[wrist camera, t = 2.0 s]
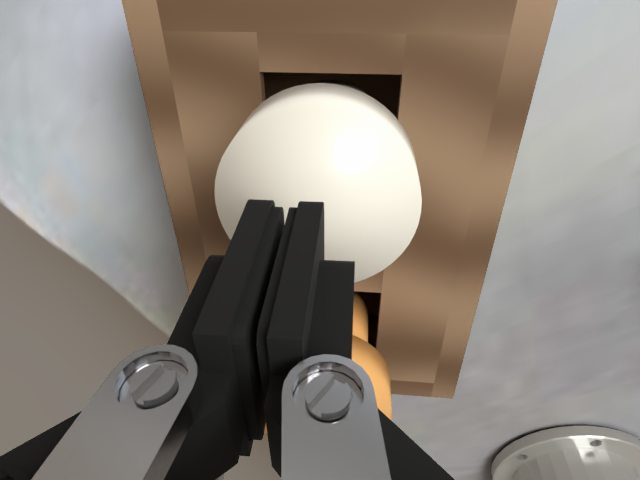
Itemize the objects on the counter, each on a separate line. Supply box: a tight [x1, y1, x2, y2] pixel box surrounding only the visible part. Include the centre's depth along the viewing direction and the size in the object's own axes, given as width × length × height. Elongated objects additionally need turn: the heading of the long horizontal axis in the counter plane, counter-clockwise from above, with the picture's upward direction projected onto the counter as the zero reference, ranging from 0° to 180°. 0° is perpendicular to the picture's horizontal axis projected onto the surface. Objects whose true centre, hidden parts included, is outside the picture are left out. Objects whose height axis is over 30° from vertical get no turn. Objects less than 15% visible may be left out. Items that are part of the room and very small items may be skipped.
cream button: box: [214, 80, 422, 283], centre depth 15 cm, size 6×6×6 cm
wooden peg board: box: [122, 0, 558, 398], centre depth 22 cm, size 20×14×6 cm
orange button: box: [264, 292, 392, 435], centre depth 21 cm, size 6×6×6 cm
